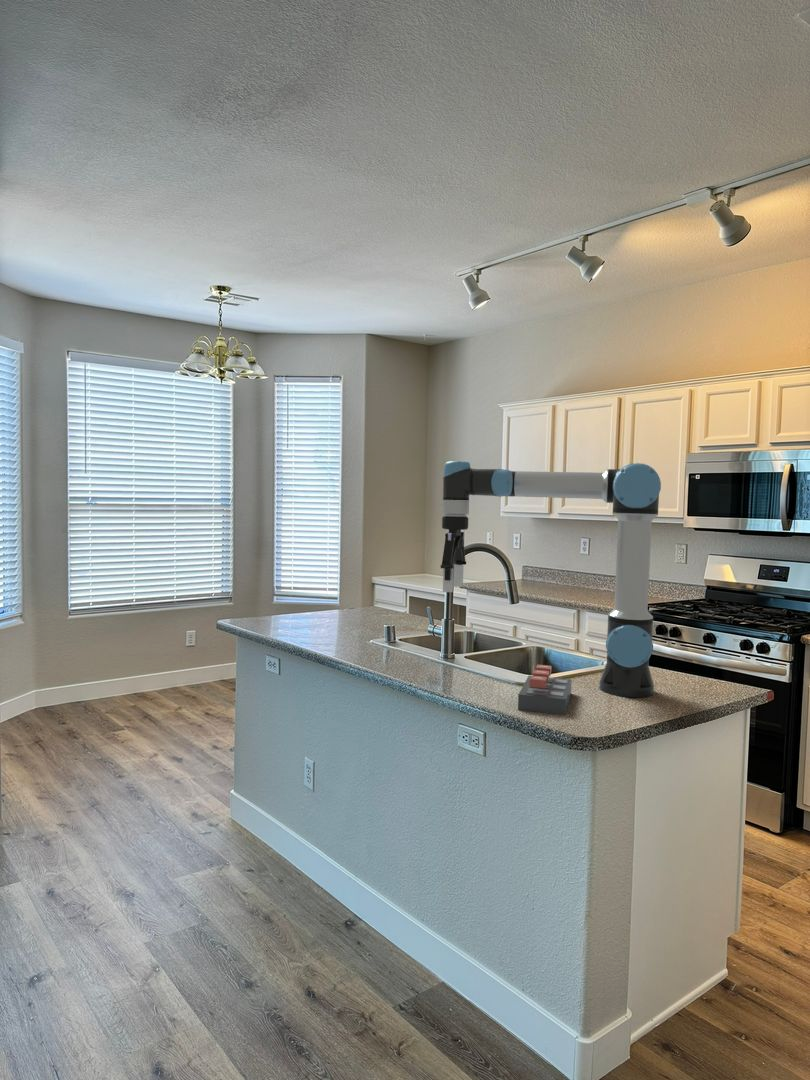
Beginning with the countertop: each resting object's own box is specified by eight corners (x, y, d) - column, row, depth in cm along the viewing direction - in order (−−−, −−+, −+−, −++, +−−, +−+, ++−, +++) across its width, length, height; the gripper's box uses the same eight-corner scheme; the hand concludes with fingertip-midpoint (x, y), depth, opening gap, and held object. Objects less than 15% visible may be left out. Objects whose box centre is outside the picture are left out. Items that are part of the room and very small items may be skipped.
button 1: (551, 672, 209) (551, 665, 209) (550, 676, 206) (550, 668, 205) (537, 671, 210) (537, 664, 210) (535, 674, 207) (535, 667, 207)
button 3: (546, 684, 196) (546, 676, 196) (545, 688, 192) (545, 680, 192) (531, 683, 197) (531, 675, 197) (529, 686, 193) (529, 678, 193)
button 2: (549, 678, 203) (549, 670, 203) (547, 681, 199) (547, 674, 199) (534, 677, 204) (534, 669, 204) (532, 680, 200) (532, 672, 200)
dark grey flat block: (571, 690, 213) (572, 676, 213) (565, 714, 189) (565, 698, 189) (529, 686, 216) (530, 672, 216) (517, 709, 192) (518, 693, 192)
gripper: (452, 514, 227) (450, 583, 228) (432, 515, 203) (429, 593, 204) (476, 515, 224) (474, 585, 226) (459, 516, 201) (456, 595, 202)
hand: (453, 589), depth 215 cm, fingers open, 13 cm apart
